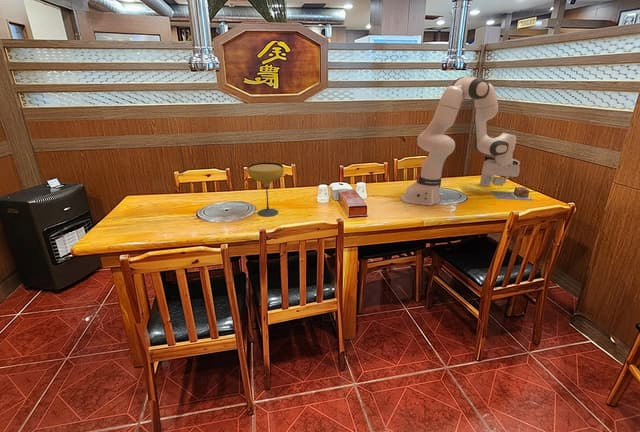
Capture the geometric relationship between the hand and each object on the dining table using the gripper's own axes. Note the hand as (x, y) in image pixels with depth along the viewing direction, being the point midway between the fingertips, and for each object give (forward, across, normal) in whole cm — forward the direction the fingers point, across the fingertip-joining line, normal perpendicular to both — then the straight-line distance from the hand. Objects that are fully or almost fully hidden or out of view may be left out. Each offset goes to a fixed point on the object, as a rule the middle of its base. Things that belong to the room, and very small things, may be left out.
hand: (497, 182), depth 211 cm
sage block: (+1, 0, 0) cm, 1 cm away
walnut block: (+6, +13, -4) cm, 15 cm away
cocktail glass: (+11, -130, -52) cm, 141 cm away
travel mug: (+8, -2, +15) cm, 17 cm away
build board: (+7, +8, -4) cm, 11 cm away
